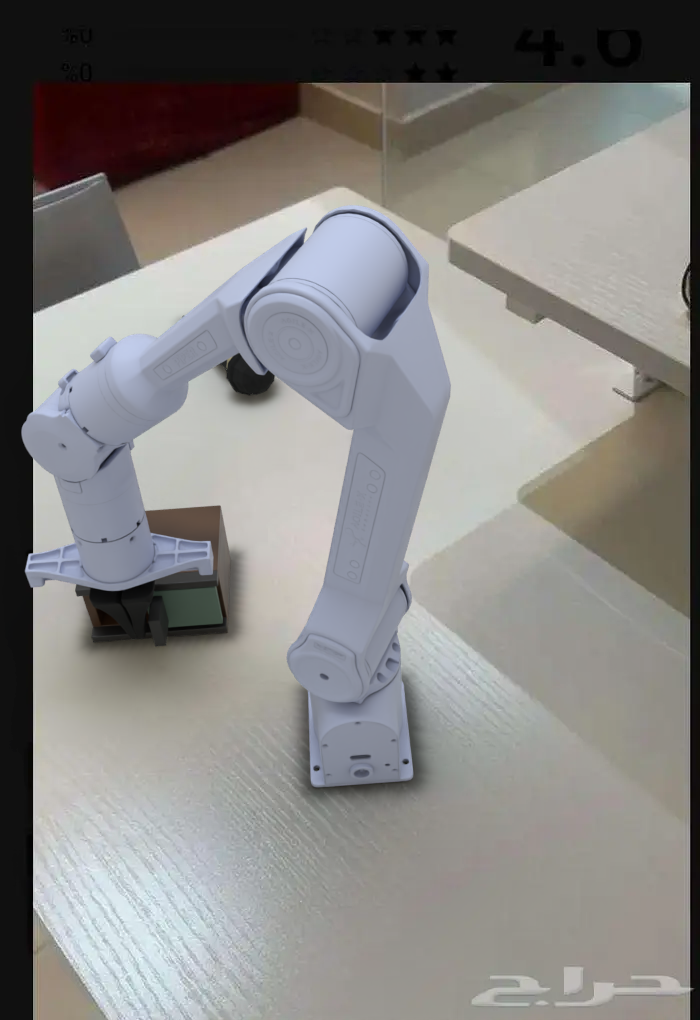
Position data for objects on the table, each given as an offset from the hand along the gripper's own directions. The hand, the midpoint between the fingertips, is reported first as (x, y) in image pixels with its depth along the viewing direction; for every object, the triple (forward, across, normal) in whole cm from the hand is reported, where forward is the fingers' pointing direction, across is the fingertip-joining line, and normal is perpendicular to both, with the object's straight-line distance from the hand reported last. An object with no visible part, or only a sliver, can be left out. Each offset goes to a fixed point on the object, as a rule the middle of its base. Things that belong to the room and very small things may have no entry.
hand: (139, 630), depth 90 cm
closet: (+3, -1, -7) cm, 8 cm away
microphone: (+4, -6, -43) cm, 44 cm away
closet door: (+2, -4, -1) cm, 5 cm away
